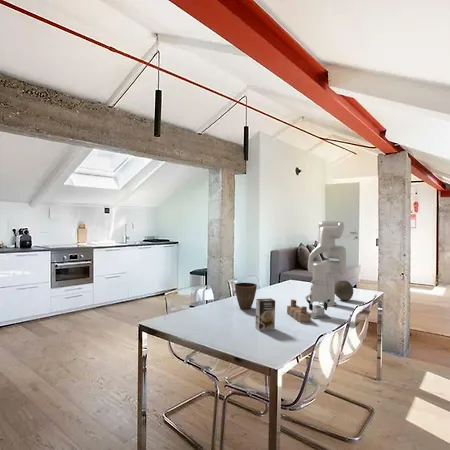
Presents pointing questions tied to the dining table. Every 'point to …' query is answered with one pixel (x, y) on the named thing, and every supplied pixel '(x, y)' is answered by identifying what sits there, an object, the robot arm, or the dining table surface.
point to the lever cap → (318, 311)
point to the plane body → (298, 312)
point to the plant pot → (245, 294)
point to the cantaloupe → (343, 290)
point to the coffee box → (265, 314)
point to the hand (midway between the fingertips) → (318, 309)
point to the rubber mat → (320, 317)
